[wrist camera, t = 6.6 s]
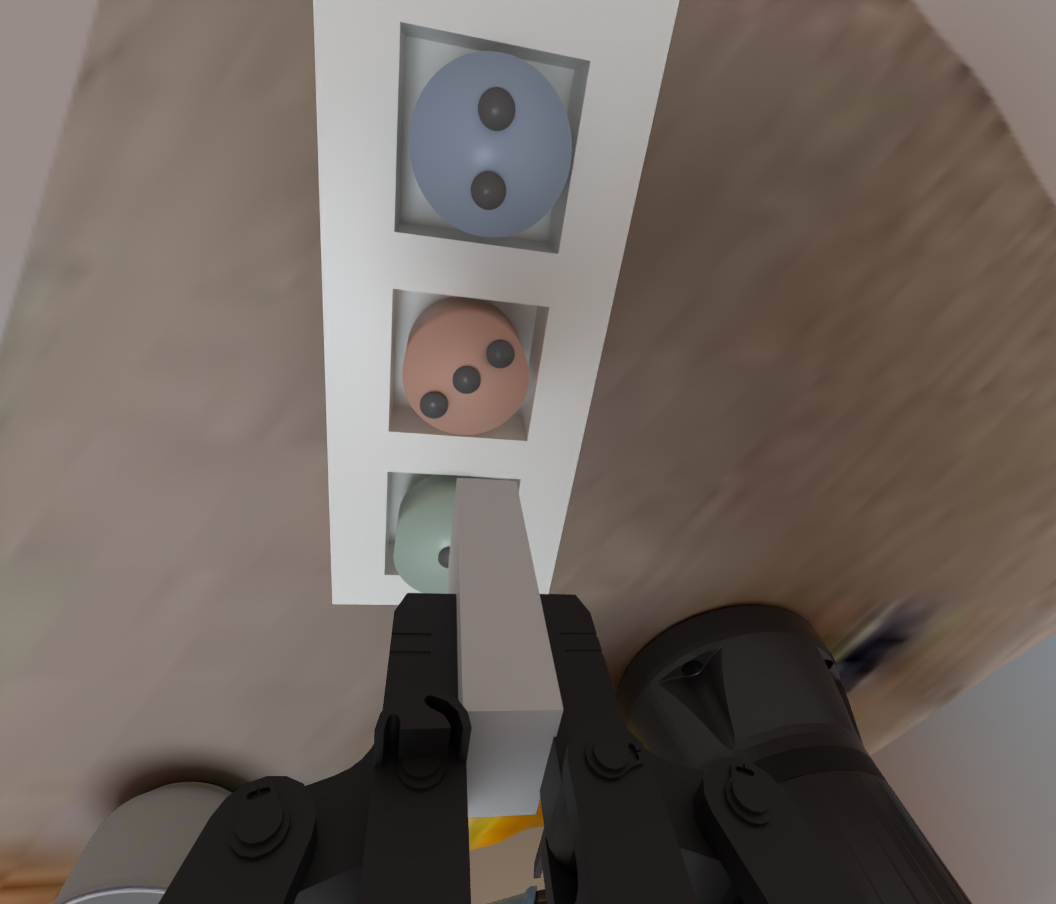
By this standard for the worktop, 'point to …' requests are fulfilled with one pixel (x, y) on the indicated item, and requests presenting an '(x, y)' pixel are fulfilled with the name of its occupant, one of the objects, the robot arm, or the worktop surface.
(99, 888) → the teacup
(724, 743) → the robot arm
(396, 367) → the button panel
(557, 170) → the two pip button
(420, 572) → the one pip button
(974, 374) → the worktop surface
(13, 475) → the worktop surface
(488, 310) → the three pip button
